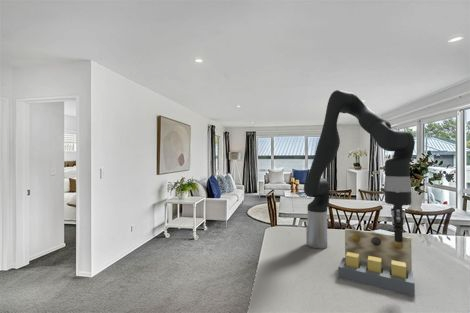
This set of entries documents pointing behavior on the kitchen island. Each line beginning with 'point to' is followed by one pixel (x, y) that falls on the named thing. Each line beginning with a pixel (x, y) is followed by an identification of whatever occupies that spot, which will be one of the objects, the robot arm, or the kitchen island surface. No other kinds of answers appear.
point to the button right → (398, 269)
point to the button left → (352, 259)
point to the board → (378, 278)
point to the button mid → (374, 264)
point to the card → (378, 247)
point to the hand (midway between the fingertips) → (398, 241)
